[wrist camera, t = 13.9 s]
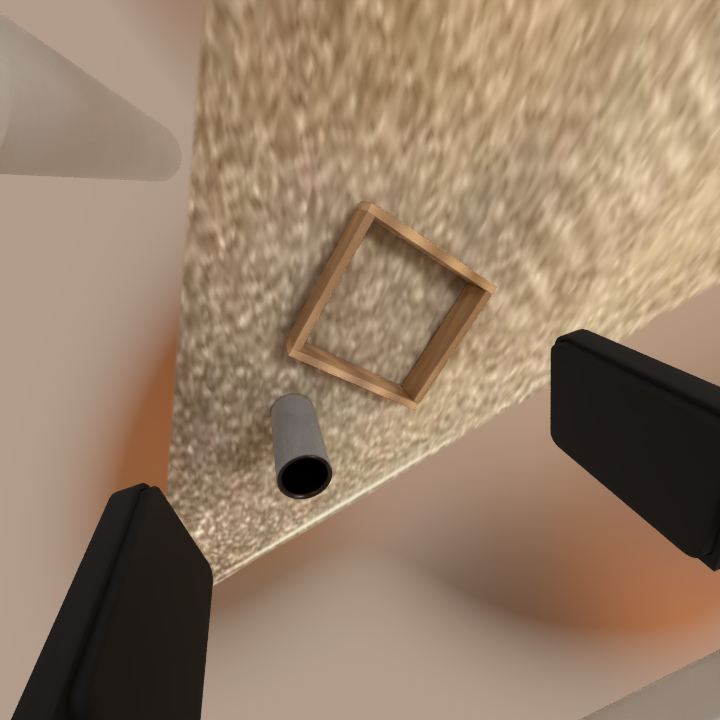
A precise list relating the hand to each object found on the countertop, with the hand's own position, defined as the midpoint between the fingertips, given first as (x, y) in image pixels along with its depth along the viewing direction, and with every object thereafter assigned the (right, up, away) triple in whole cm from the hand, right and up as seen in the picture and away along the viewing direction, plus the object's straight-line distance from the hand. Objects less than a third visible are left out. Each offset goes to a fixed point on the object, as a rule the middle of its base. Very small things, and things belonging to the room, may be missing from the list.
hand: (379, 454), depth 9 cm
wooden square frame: (+2, +7, +29) cm, 30 cm away
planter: (-8, -3, +32) cm, 33 cm away
